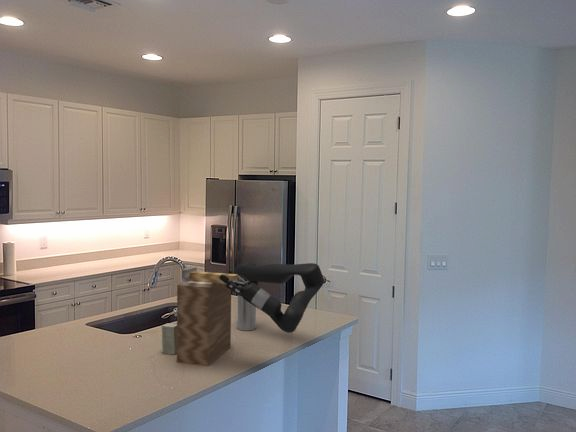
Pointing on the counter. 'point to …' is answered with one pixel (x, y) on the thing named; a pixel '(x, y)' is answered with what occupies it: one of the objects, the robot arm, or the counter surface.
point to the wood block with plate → (204, 276)
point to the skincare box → (169, 338)
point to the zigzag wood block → (203, 322)
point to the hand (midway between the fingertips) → (224, 274)
